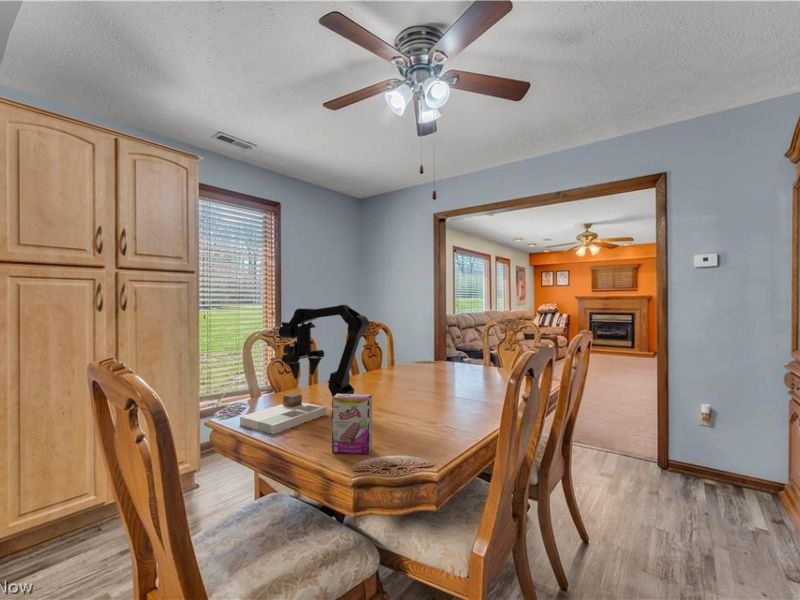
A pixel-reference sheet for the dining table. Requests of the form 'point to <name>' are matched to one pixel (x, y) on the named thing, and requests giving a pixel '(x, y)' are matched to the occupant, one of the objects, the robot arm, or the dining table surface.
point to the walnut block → (292, 400)
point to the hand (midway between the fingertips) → (304, 376)
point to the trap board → (281, 417)
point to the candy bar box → (352, 423)
